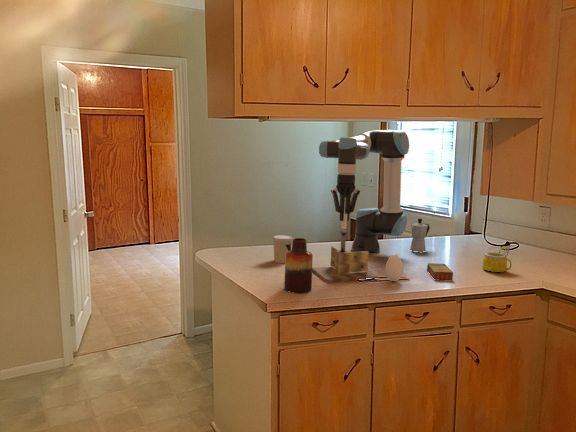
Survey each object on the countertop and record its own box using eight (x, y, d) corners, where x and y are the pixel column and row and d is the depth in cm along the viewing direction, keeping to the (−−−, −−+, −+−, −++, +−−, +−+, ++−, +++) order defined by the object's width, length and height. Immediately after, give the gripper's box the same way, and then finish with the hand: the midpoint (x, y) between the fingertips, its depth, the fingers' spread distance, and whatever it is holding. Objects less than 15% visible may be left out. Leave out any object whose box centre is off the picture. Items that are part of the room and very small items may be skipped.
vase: (279, 287, 205) (280, 238, 201) (300, 283, 211) (302, 235, 208) (294, 294, 196) (296, 243, 193) (316, 290, 202) (318, 240, 199)
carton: (433, 280, 222) (434, 271, 222) (426, 271, 238) (427, 262, 238) (452, 281, 222) (453, 272, 221) (444, 272, 238) (445, 263, 237)
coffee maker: (417, 254, 272) (419, 220, 269) (404, 250, 278) (406, 218, 275) (433, 250, 281) (436, 218, 278) (420, 247, 288) (422, 216, 285)
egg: (389, 284, 214) (390, 257, 212) (381, 279, 221) (383, 253, 219) (405, 283, 215) (407, 256, 213) (397, 278, 222) (399, 252, 221)
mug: (481, 272, 238) (483, 246, 237) (482, 266, 248) (484, 242, 246) (510, 275, 233) (513, 250, 231) (511, 270, 243) (513, 245, 241)
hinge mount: (358, 267, 240) (359, 244, 238) (378, 279, 221) (380, 254, 219) (310, 270, 233) (311, 246, 231) (327, 282, 213) (328, 256, 212)
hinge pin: (344, 254, 224) (345, 230, 223) (347, 255, 221) (348, 231, 220) (337, 254, 223) (338, 230, 222) (340, 256, 220) (341, 231, 219)
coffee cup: (289, 264, 242) (290, 239, 240) (270, 262, 244) (271, 238, 242) (293, 259, 251) (294, 235, 249) (274, 258, 253) (275, 234, 251)
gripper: (356, 173, 222) (353, 226, 226) (328, 173, 218) (326, 227, 222) (364, 174, 215) (361, 229, 219) (335, 174, 211) (333, 230, 215)
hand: (343, 228), depth 221 cm, fingers closed
